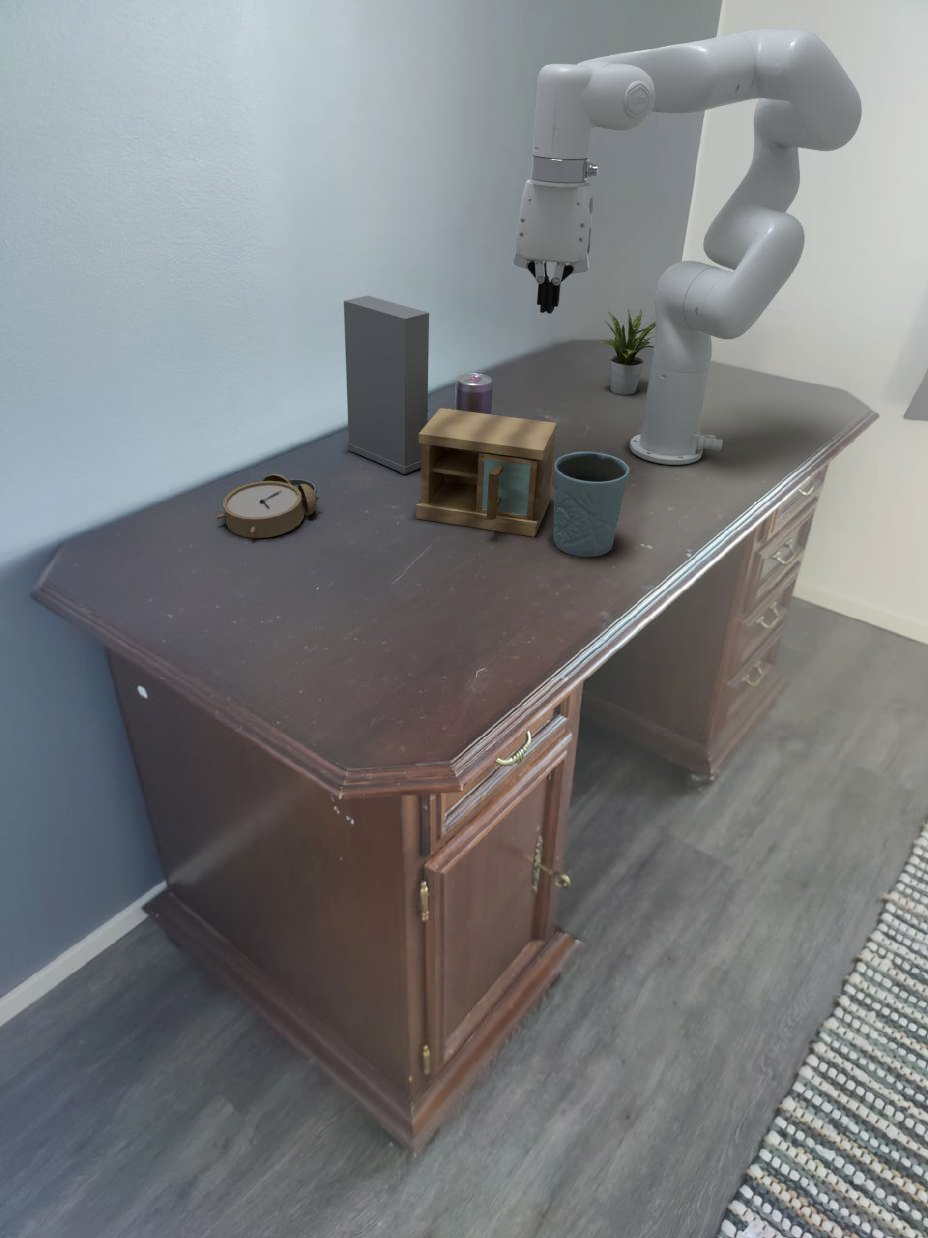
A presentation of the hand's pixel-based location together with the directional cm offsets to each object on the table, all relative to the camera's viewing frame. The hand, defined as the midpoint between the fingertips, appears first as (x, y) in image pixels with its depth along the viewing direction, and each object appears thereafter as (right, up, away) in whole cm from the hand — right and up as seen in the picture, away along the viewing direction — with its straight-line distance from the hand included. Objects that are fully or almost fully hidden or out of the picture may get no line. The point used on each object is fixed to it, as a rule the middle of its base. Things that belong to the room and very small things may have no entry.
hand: (547, 310), depth 131 cm
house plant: (+21, +1, +53) cm, 57 cm away
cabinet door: (-7, -31, -2) cm, 32 cm away
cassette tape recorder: (-25, -18, +21) cm, 37 cm away
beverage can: (-11, -20, +19) cm, 30 cm away
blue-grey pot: (+5, -34, -2) cm, 35 cm away
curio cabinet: (-9, -29, +5) cm, 30 cm away
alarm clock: (-40, -30, +1) cm, 50 cm away
